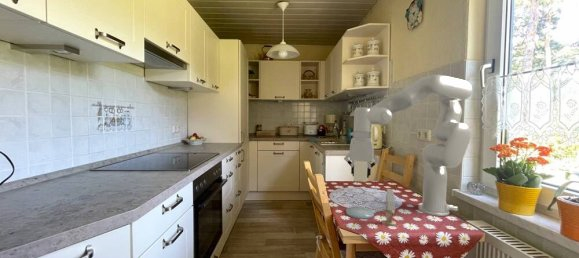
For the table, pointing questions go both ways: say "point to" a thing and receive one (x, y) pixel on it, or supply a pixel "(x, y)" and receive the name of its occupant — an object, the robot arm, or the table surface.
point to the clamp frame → (388, 215)
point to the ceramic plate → (360, 212)
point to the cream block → (360, 171)
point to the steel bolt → (390, 200)
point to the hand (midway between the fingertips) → (360, 176)
